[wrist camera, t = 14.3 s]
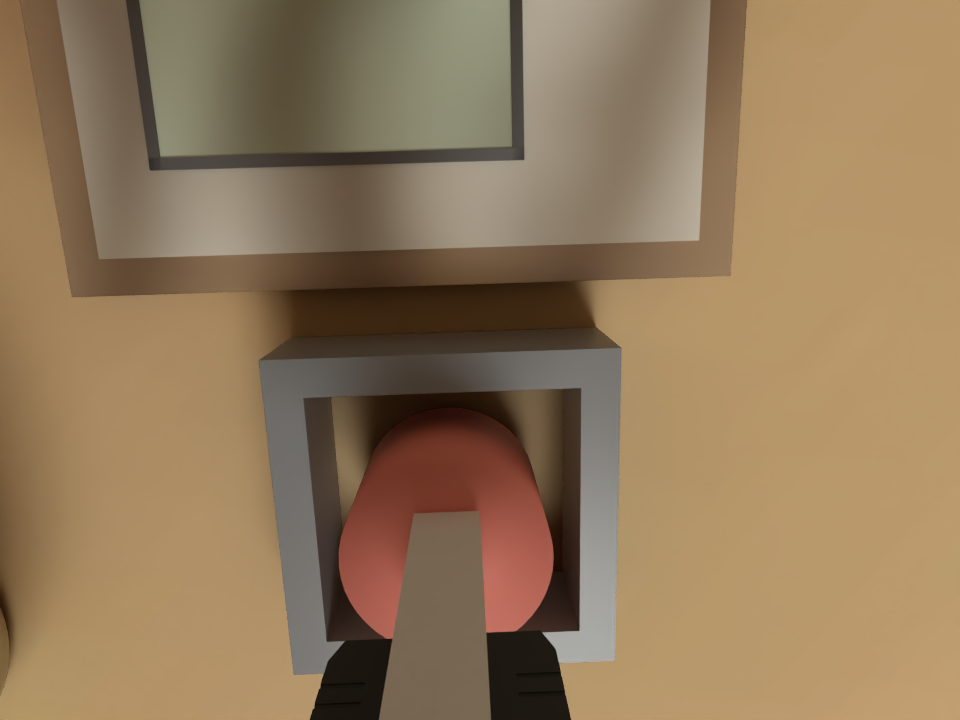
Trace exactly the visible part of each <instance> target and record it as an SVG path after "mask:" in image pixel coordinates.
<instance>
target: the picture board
mask: <svg viewBox="0 0 960 720" xmlns="http://www.w3.org/2000/svg"><path fill="white" fill-rule="evenodd" d="M20 4H21V10H22V16H23V21H24V27H25V33H26V38H27V44H28V50H29V55H30V61H31V67H32V73H33V78H34V84H35V90H36V95H37V101H38V107H39V112H40V118H41V124H42V130H43V135H44V141H45V147H46V152H47V158H48V164H49V169H50V175H51V181H52V186H53V192H54V198H55V204H56V209H57V215H58V221H59V226H60V232H61V238H62V243H63V249H64V255H65V261H66V266H67V272H68V278H69V283H70V289H71V295H72V297H92V296H123V295H154V294H185V293H216V292H247V291H278V290H308V289H339V288H370V287H401V286H432V285H463V284H494V283H525V282H556V281H587V280H617V279H648V278H679V277H710V276H731V260H732V243H733V226H734V209H735V193H736V176H737V159H738V142H739V126H740V109H741V92H742V75H743V58H744V42H745V25H746V8H747V0H20Z"/></svg>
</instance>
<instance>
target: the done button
mask: <svg viewBox="0 0 960 720" xmlns="http://www.w3.org/2000/svg"><path fill="white" fill-rule="evenodd" d="M461 511H480V526H481V544H482V563H483V581H484V600H485V618H486V633H488V632H511V631H517V630H518V629H519V628H520V627H522V626H523V625H524V624H525V623H526V622H527V621H528V620H529V618H530V617H531V616H532V615H533V614H534V612H535V611H536V610H537V608H538V607H539V605H540V604H541V602H542V600H543V598H544V596H545V594H546V592H547V589H548V586H549V584H550V580H551V576H552V571H553V559H554V555H553V543H552V539H551V535H550V530H549V527H548V523H547V520H546V516H545V512H544V509H543V505H542V502H541V498H540V494H539V491H538V487H537V484H536V480H535V476H534V473H533V469H532V466H531V463H530V460H529V458H528V455H527V453H526V451H525V450H524V448H523V446H522V445H521V443H520V442H519V441H518V439H517V438H516V437H515V436H514V435H513V434H512V433H511V432H510V431H509V430H508V429H507V428H506V427H505V426H503V425H502V424H501V423H499V422H498V421H496V420H494V419H493V418H491V417H489V416H486V415H484V414H482V413H479V412H476V411H472V410H468V409H462V408H438V409H432V410H428V411H424V412H421V413H418V414H415V415H413V416H411V417H409V418H407V419H405V420H403V421H402V422H400V423H399V424H398V425H396V426H395V427H394V428H392V429H391V430H390V431H389V432H388V433H387V434H386V435H385V436H384V437H383V439H382V440H381V441H380V442H379V444H378V445H377V447H376V449H375V450H374V452H373V454H372V456H371V459H370V461H369V463H368V466H367V469H366V471H365V474H364V476H363V479H362V482H361V484H360V487H359V489H358V492H357V495H356V497H355V500H354V503H353V505H352V508H351V510H350V513H349V516H348V518H347V521H346V523H345V526H344V529H343V532H342V536H341V540H340V546H339V570H340V576H341V580H342V584H343V587H344V590H345V592H346V594H347V596H348V599H349V601H350V603H351V604H352V606H353V607H354V609H355V610H356V612H357V613H358V614H359V615H360V617H361V618H362V619H363V620H364V621H365V622H366V623H367V624H368V625H369V626H370V627H371V628H372V629H373V630H375V631H376V632H377V633H379V634H380V635H382V636H383V637H385V638H386V639H393V633H394V627H395V621H396V615H397V609H398V604H399V598H400V592H401V586H402V580H403V574H404V568H405V562H406V556H407V550H408V545H409V539H410V533H411V527H412V521H413V515H414V513H435V512H461Z"/></svg>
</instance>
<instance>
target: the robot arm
mask: <svg viewBox="0 0 960 720" xmlns="http://www.w3.org/2000/svg"><path fill="white" fill-rule="evenodd" d="M310 720H571V718H570V713H569V708H568V704H567V699H566V696H565V690H564V685H563V680H562V676H561V671H560V666H559V662H558V657H557V652H556V649H555V647H554V646H553V645H552V644H551V643H550V641H549V640H548V639H547V638H546V637H545V635H544V634H543V633H542V632H541V631H540V630H535V631H511V632H488V633H486V618H485V600H484V581H483V563H482V544H481V526H480V511H461V512H435V513H414V515H413V521H412V527H411V533H410V539H409V545H408V550H407V556H406V562H405V568H404V574H403V580H402V586H401V592H400V598H399V604H398V609H397V615H396V621H395V627H394V633H393V639H370V640H346V641H345V642H344V643H343V644H342V645H341V646H340V647H339V649H338V650H337V651H336V652H335V653H334V654H333V656H332V657H331V658H330V659H329V660H328V662H327V665H326V669H325V672H324V675H323V678H322V682H321V688H320V689H319V691H318V695H317V698H316V701H315V708H314V709H313V711H312V714H311V718H310Z"/></svg>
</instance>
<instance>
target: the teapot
mask: <svg viewBox="0 0 960 720" xmlns="http://www.w3.org/2000/svg"><path fill="white" fill-rule="evenodd" d="M9 657H10V649H9V637H8V630H7V626H6V622H5V619H4V616H3V613H2V610H1V608H0V695H1V693H2V690H3V688H4V685H5V681H6V677H7V673H8V668H9Z"/></svg>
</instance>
